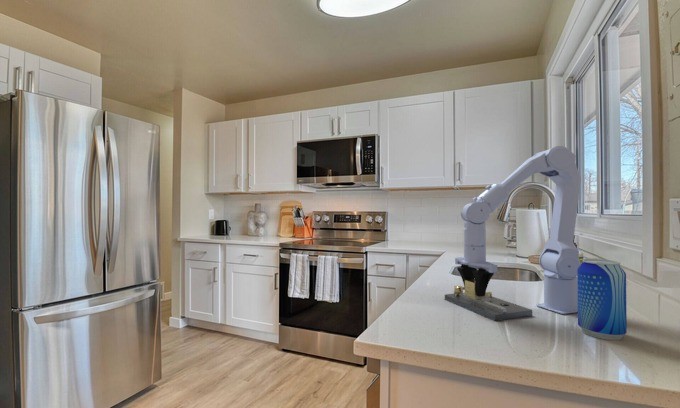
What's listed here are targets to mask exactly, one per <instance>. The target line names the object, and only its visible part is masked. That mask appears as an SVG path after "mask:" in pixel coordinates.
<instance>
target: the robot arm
mask: <svg viewBox="0 0 680 408" xmlns="http://www.w3.org/2000/svg"><path fill="white" fill-rule="evenodd" d="M576 156H577V155H576V154H575V153H574V152H573V151H572V150H570V149H569V148H567V147H566V146H563V145H556V146H553V147H551V148H549V149H546V150H542V151H538V152H536V153H534V155H533V156H531V157H529V158H527V159H526V160H525V161H524V162H523V163H522V164H521V165H519V166H518V168H516V169H515V170H514V171H513V172H512V173H511V174H509V175H508V176H507V177H506V178H505V179H504V180H503V181H501V183H492V184H488V185H486V186H485V187H484V189H485V190H484V191H483V192H481V193H480V194H479V195H478V196H477V197H476V196H475V197H473V198H472V202H469V203H467V204H465V205H464V206H463V208H462V210H461V212H460V216H461V219H462V220H463V257H462V256H461V257H457V256H456V257H454V261H455V262H454V263H455V265H461V266H457V269H456V271H457V272H458V273H459V275H460V277H461V280H462V282H463V283H462V284H463V287H465V280H472V279H475V283H476V293H477V296H479V297H480V296H485V293H486V292H487V289H488V286H489V283H490V280H491V278H493V275H494V274H495V273H496V274H497V273H498V264H494V263H491V262H489V261H487V257H486V256H487V248H486V247H487V244H486V243H487V242H486V241H487V239H486V237H487V233H486V232H487V231H486V221H488V219H489V218H490V214H492V213H493V212H494V211H496V209H498V208H499V207H500V206H501V205H503V204H504V203H505V202H506V201H507V200H509V197H510V192H511V191H512V190H514V189H515V188H516V187H518V186H519V185H520V184H522V183H523V182H524V181H525V180H527V179H528V178H530V177H532V176H533V175H535V174H541V175H543V176H545V177H547V178H548V179H550V180H551V181H552V182H553V183H554V184H555V191H554V192H555V193H554V200H553V209H552V217H551V225H550V235H549V239H548V241H547V242H546V243H545V244H544V246H543V250H542V253H541V254H540V255H539V259H538V262H539V265H540V266H539V267H540V268H542V270H543V302H542V303H536V305H535V306H537V307H538V308H541V309H546V310H547V311H548V310H549V311H552V312H555V313H557V314H560V315H566V314H574V313H578V279H577V270H578V268H579V266H580V265H581V264H582V263H581V261H580V258H579V257H580V256H579V255H580V251H579V249H578V248H577V246H576V245H575V244H574V241H575V240H574V238H575V232H576V230H575V229H576V221H577V212H578V206H579V198H580V190H581V189H580V188H581V182H582V181H581V180H582V179H581V178H582V177H581V175H580V174H581V173H580V172H579V169H578V167H577V164H576Z"/></svg>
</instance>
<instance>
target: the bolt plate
mask: <svg viewBox="0 0 680 408" xmlns="http://www.w3.org/2000/svg"><path fill="white" fill-rule="evenodd" d="M453 289H454V290H453V293H445V294H444V300H445V301H447V302H449V303H452V304H454V305H456V306H459V307H461V308H463V309H466V310H468V311H471V312H473V313H476V314H477V315H480V316H482V317H485V318H487V319H490V320H492V321H493V322H499V321H505V320H512V319H518V318H520V319H521V318H526V317H527V318H528V317H532V316H533V310H532V309H531V308H528V307H524V306H521V305H520V304H519V305H518V304H516V303H514V302H510V301H507V300H504V299H500V298H497V297H495V296H492V299H490V298H489V295H485V298H482V299H473V298H470V297H467V296H465V292H464V291H465V287H464V286H461V285H455V286H454V287H453Z"/></svg>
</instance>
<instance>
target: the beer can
mask: <svg viewBox="0 0 680 408" xmlns="http://www.w3.org/2000/svg"><path fill="white" fill-rule="evenodd" d="M576 277H577V279H578V312H577V326H579V328H580V329H581V332H583V333H584V334H585V335H588V336H590V337H593V338H597V339H601V340H608V341H618V340H622V339H623V338H624V336H625V335H626V334H627V333H628V332H627V331H628V329H627V328H628V327H627V325H628V324H627V320H628V319H627V316H628V314H627V273H626V272H625V269H623V268H622V266H621V262H620V261H617V260H610V259H603V258H602V259H601V258H583V259H582V263H581V265H580V266H579V268H578V270H577V276H576Z"/></svg>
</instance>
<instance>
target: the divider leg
mask: <svg viewBox="0 0 680 408" xmlns="http://www.w3.org/2000/svg"><path fill="white" fill-rule="evenodd" d="M464 293H465V296H467V297H470V298H473V299H482V298H485V296H480V297H479V296H477V293H476V283H475V279H472V280H465V290H464ZM485 295H489V298H490V299H492V297H493V292H491V291H486V293H485Z"/></svg>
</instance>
